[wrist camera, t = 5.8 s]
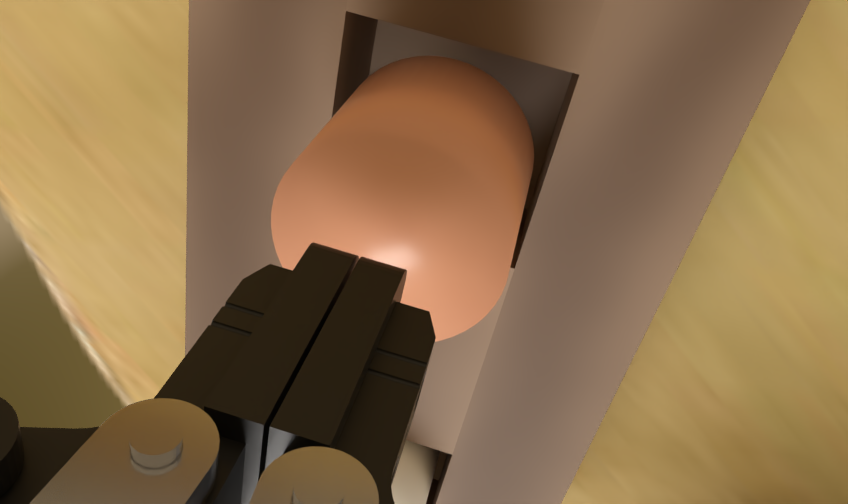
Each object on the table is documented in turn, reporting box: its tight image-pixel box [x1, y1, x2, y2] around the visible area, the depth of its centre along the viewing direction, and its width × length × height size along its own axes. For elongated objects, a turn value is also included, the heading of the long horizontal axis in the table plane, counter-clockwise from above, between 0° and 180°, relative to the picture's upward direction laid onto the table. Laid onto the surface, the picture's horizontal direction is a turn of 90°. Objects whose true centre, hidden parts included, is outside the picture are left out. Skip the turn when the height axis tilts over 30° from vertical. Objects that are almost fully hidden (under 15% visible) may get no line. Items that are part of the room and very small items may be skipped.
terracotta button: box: [271, 56, 534, 342], centre depth 15 cm, size 4×4×4 cm
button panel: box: [185, 0, 810, 504], centre depth 22 cm, size 12×22×4 cm, turn 169°
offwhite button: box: [391, 440, 440, 504], centre depth 24 cm, size 4×4×4 cm
